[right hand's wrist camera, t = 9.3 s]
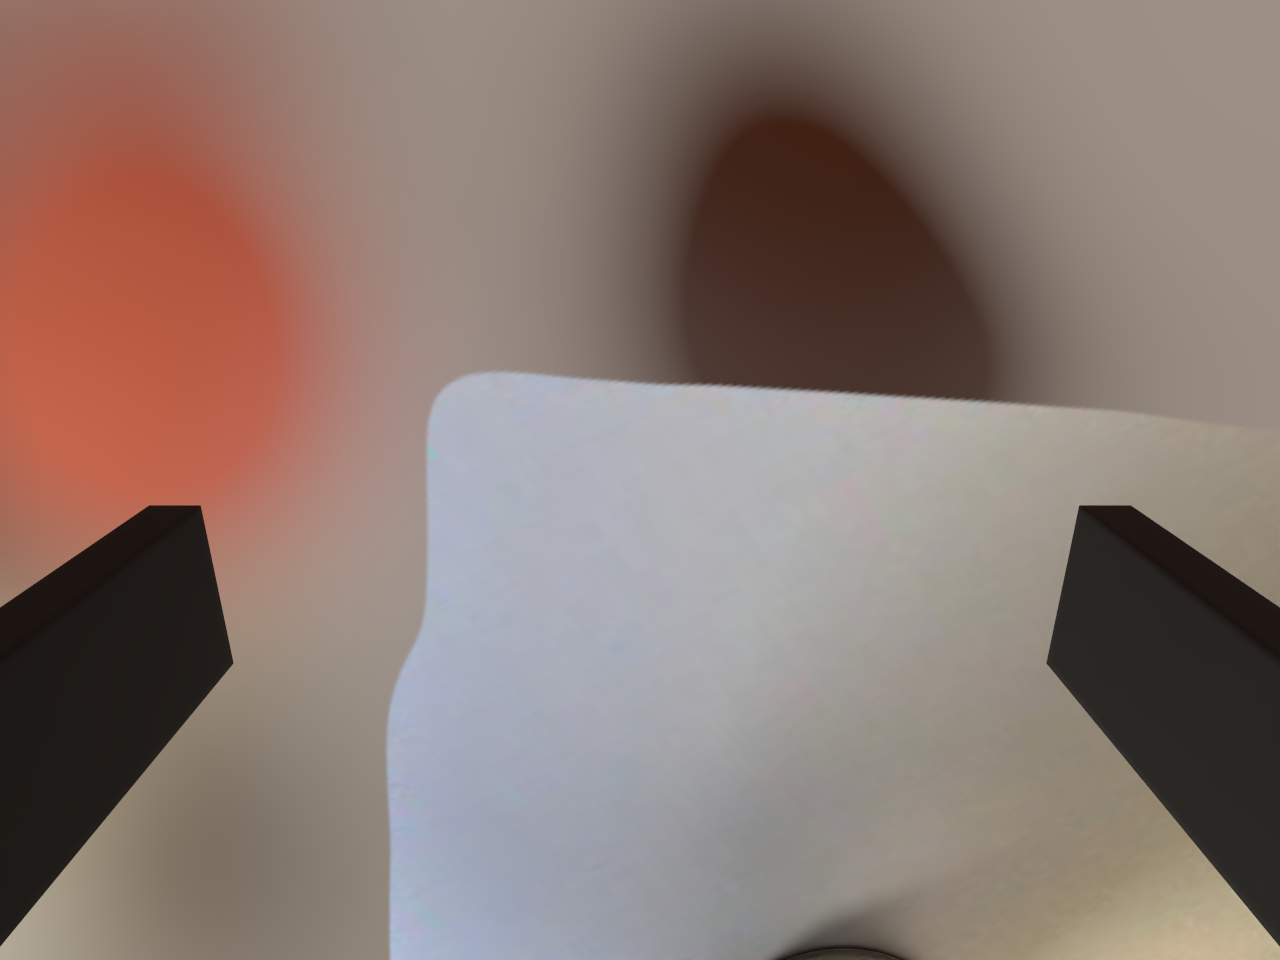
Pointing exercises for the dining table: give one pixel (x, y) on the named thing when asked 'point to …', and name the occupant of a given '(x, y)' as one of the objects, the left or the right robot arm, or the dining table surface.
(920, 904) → the dining table surface
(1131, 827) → the dining table surface
